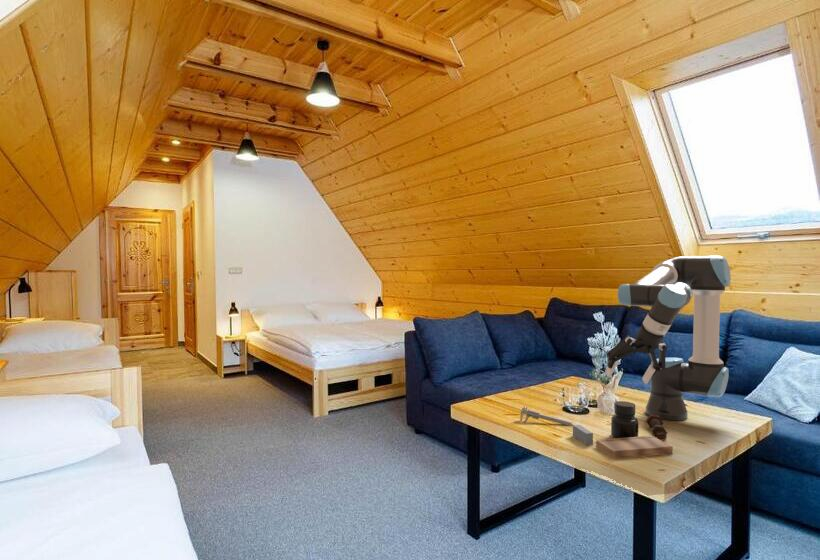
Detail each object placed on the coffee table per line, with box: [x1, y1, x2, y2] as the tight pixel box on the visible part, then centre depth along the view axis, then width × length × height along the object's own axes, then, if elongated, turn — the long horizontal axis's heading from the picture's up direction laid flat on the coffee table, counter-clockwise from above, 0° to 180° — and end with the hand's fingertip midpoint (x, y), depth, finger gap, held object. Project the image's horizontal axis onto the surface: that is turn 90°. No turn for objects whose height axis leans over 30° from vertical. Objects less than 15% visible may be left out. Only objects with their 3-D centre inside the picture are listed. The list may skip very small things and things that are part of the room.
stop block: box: [572, 424, 594, 446], centre depth 167 cm, size 2×9×4 cm, turn 10°
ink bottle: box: [610, 400, 639, 439], centre depth 170 cm, size 10×9×12 cm
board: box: [595, 435, 674, 460], centre depth 158 cm, size 21×10×2 cm, turn 100°
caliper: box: [519, 405, 575, 426], centre depth 186 cm, size 20×1×6 cm, turn 73°
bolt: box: [645, 415, 668, 441], centre depth 173 cm, size 6×5×15 cm
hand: (626, 378), depth 166 cm, fingers open, 13 cm apart
